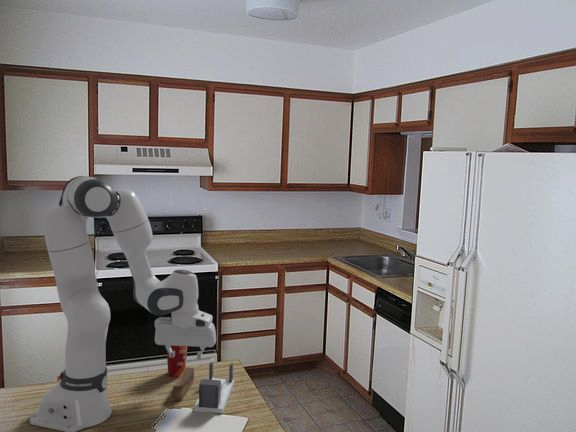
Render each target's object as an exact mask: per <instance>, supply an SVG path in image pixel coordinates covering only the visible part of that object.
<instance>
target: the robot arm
mask: <svg viewBox="0 0 576 432" xmlns="http://www.w3.org/2000/svg"><path fill="white" fill-rule="evenodd" d="M104 217H105V219H107V222H109V223H108V224H109V227H110V228H111V232H112V234H113V236H114V239H115V240H116V241H115V242H117V244H118V247H119V248H120V250H121V251H122V252H123V254H124V256H125V259H126V262H127V264H128V268H129V270H130V274H131V275H132V276H131V277H132V280H133V289H132V295H133V299H134V300H135V302H136V303H137V304H139V305H140V306H141V307H144V309H146V310H147V311H148V312H150V313H151V314H153V315H155V316H159V317H157V318H156V319H155V320H154V329H155V333H154V343H155V344H156V345H158V346H165V350H166V352H167V351H168V353H169V358H174V357H175V351H172V349H171V345H172V346H187V347H196V348H197V347H199V349H200V351H198V352H197V353H196V359H197V360H201V359H202V358H203V353H204V351H205V349H206V348H213V347H214V346H215V345H216V343H217V333H216V332H217V331H216V327H215V324H214V323H213V315H212V314H209V313H208V312H205V311H201V310H200V309H199V304H198V300H199V282H198V278H197V274H195V273H194V272H192V271H190V270H186V269H175V270H173V271H172V273H171V274H170V275H168V277H166V278H165V279H163V280H160V279H159V278H158V277H156V275H155V274H154V272H153V270H152V268H151V267H152V266H151V265H150V262H149V259H148V256H147V248H148V247H149V246H150V245H151V243H152V242H153V236H154V235H153V230H152V227H151V222H150V220H149V218H148V215H147V212H146V210H145V209H144V207H143V205H142V202H141V200H140V199H139V197H138V196H137V194H136V193H135V192H134V191H133V190H132V189H128V188H119V189H115V188H113V187H112V186H111V185H110V184H108V183H107V182H106V181H103V180H102V179H98V178H96V177H93V176H89V175H88V176H87V175H86V176H85V175H79V176H75V177H73V178H72V177H71V179H69V180H68V181H66V183H65V185H64V187H63V190H62V192H61V196H60V199H59V202H58V206H57V207H54V208H52V209H50V210H48V212H46V213H45V215H44V217H43V234H44V240H45V245H46V248H47V253H48V256H49V260H50V265H51V267H52V271H53V275H54V279H55V284H56V290H57V295H58V298H59V299H58V300H59V303H60V307H61V311H62V312H63V314H64V316H65V318H66V322H67V337H66V344H65V347H64V352H65V353H64V355H65V356H64V358H65V361H64V363H65V365H64V366H65V368H64V370H63V371H61V372H60V374H59V375H58V376H57V377H56V381H57V382H58V383H57V384H56V385H55V386H54V387H52V388H51V389H49V390H48V391H47V392H45V394H44V395H43V396H42V398H41V399H40V402H39V406H38V407H37V409H35V410H34V412H32V414H31V416H30V418H29V424H30V425H31V426H32V425H33V426H37V427H41V428H47V429H50V430H51V429H52V430H57V431H61V432H79V431H82V430H83V429H85V428H91V427H94V426H97V425H99V424H102V423H103V422H105V421H107V420H108V419H109V418H110V417H111V415H112V413H113V411H112V408H111V404H110V401H109V397H108V395H109V394H108V391H107V390H108V389H107V388H108V381H109V380H108V368H107V366H106V343H107V338H108V337H107V335H108V330H109V325H110V321H111V308H110V306H109V303H108V302H107V301H106V300H105V298H104V297H103V296H102V295H101V293H100V291H99V290H100V289H99V287H98V282H97V273H96V263H95V260H94V254H93V251H92V247H91V243H90V239H89V236H88V231H87V221H88V220H89V218H104ZM168 314H171V316H170V317H169V316H167V317H164V315H168Z"/></svg>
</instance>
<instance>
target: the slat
mask: <svg viewBox="0 0 576 432" xmlns="http://www.w3.org/2000/svg"><path fill="white" fill-rule="evenodd" d="M194 380H195V368H194V367H186V368H185V369H184V371H183V372H182V373H181V375H180V376H179V377H177V379H176V381H175V382H174V383H173V385H172V401H178V402H179V401H180V402H182V401H183V400H184V398H185V397H186V395H187V394H188V392H189V390H190V388H191V386H192V384H193V383H194V382H195V381H194Z"/></svg>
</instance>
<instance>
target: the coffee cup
mask: <svg viewBox="0 0 576 432" xmlns="http://www.w3.org/2000/svg"><path fill="white" fill-rule="evenodd" d="M171 349H172V351H175V357H174V358H169V353H168V351H167V350H166V358H167V359H166V361H167V373H168V374H167V375H168V376H169V377H172V378H179V376H180V375H181V373H182V372H183V371H184V369H185V368H187V366H186V365H187V354H188V346H172V345H171Z"/></svg>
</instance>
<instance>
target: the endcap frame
mask: <svg viewBox="0 0 576 432" xmlns="http://www.w3.org/2000/svg"><path fill="white" fill-rule="evenodd" d="M214 364H215V363H214V361H210V362H209V367H208V371H209V372H208V378H207V379H205V378H204V379H203V378H202V379H200V382H199V383H198V386H199V387H198V398H197V400H196V402H195V404H194V407H193V411H194V412H197V413H199V412H200V413H210V414H211V413H213V414H223V413H224V411H225V409H226V405H227V403H228V401H229V398H230V396H231V393H232V391H233V388H234V386H235V379H234V363H233V362H230V363H229V366H228V369H229V370H228V378H215V377H214Z"/></svg>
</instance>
